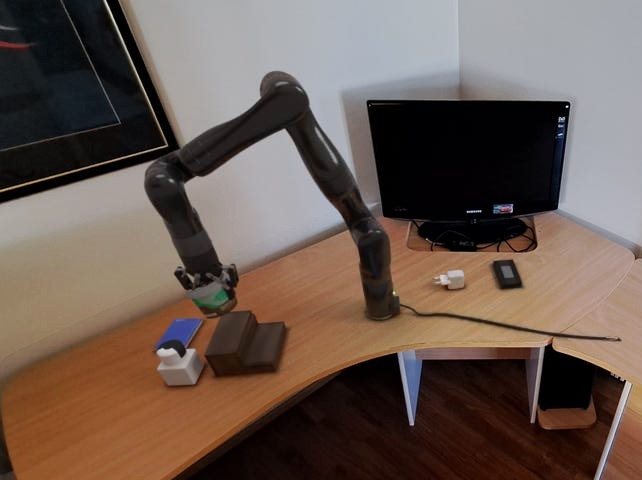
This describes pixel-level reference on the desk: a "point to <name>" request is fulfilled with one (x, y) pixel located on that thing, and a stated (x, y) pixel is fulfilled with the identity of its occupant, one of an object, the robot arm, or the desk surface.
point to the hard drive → (181, 331)
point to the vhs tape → (507, 274)
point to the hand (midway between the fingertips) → (218, 298)
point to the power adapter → (451, 279)
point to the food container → (212, 298)
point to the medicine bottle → (178, 363)
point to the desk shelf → (244, 345)
